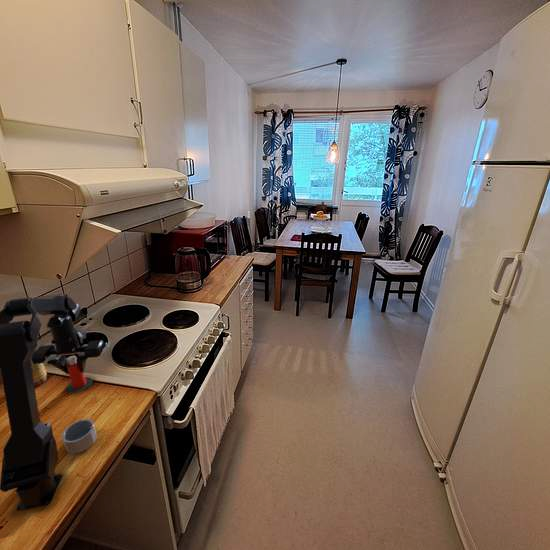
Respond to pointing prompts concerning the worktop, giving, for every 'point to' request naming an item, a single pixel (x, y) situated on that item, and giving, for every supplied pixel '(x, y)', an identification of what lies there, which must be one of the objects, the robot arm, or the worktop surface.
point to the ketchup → (75, 373)
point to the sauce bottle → (38, 372)
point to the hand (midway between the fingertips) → (76, 372)
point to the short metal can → (79, 436)
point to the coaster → (88, 384)
